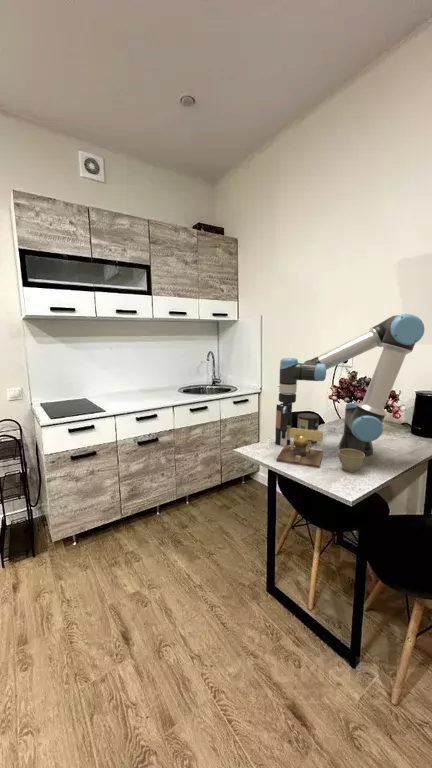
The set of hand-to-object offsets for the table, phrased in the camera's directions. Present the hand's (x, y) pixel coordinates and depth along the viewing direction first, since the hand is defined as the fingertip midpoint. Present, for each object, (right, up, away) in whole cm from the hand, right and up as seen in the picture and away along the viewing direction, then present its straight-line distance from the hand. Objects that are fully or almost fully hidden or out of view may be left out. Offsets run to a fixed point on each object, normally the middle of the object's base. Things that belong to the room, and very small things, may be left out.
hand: (285, 441), depth 151 cm
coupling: (+6, -2, -2) cm, 7 cm away
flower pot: (+24, -9, -14) cm, 29 cm away
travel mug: (+2, -4, +16) cm, 17 cm away
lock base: (+6, -7, -2) cm, 9 cm away
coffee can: (+15, -4, +19) cm, 24 cm away
